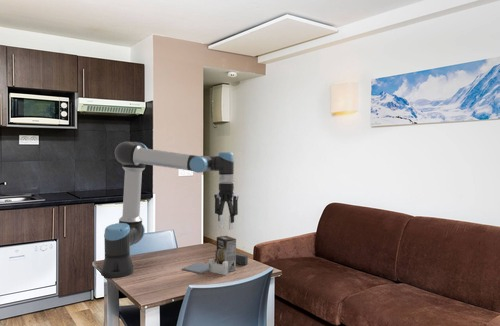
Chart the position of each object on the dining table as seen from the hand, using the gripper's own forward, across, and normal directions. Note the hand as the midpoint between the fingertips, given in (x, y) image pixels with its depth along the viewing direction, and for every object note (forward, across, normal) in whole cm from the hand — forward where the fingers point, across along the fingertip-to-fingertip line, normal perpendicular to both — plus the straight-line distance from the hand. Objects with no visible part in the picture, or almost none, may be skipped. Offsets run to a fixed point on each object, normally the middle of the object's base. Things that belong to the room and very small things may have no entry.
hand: (226, 228), depth 190 cm
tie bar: (+20, -5, +12) cm, 24 cm away
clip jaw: (+21, 0, -7) cm, 22 cm away
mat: (+21, -12, -6) cm, 25 cm away
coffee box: (+21, 0, 0) cm, 21 cm away
